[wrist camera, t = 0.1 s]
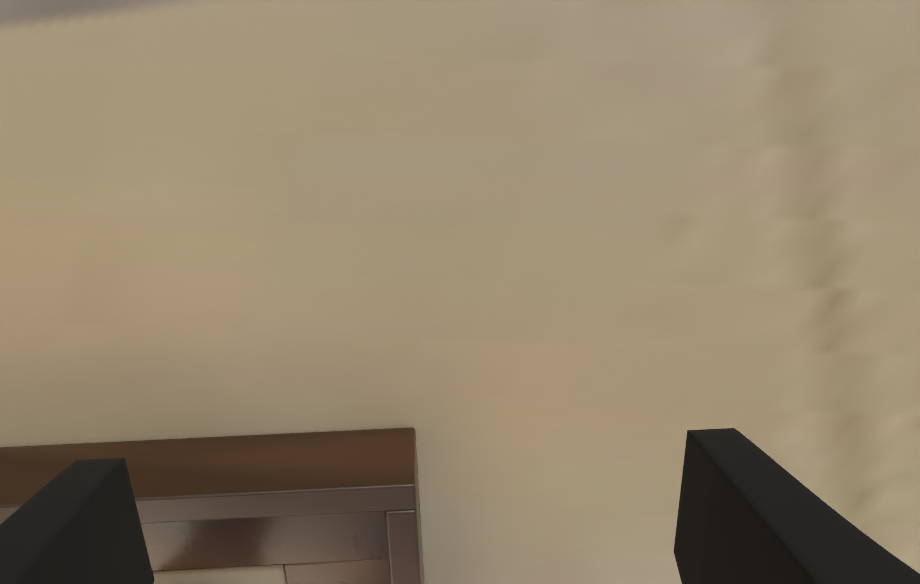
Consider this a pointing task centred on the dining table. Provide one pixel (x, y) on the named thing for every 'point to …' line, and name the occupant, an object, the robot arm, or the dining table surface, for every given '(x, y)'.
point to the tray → (260, 500)
